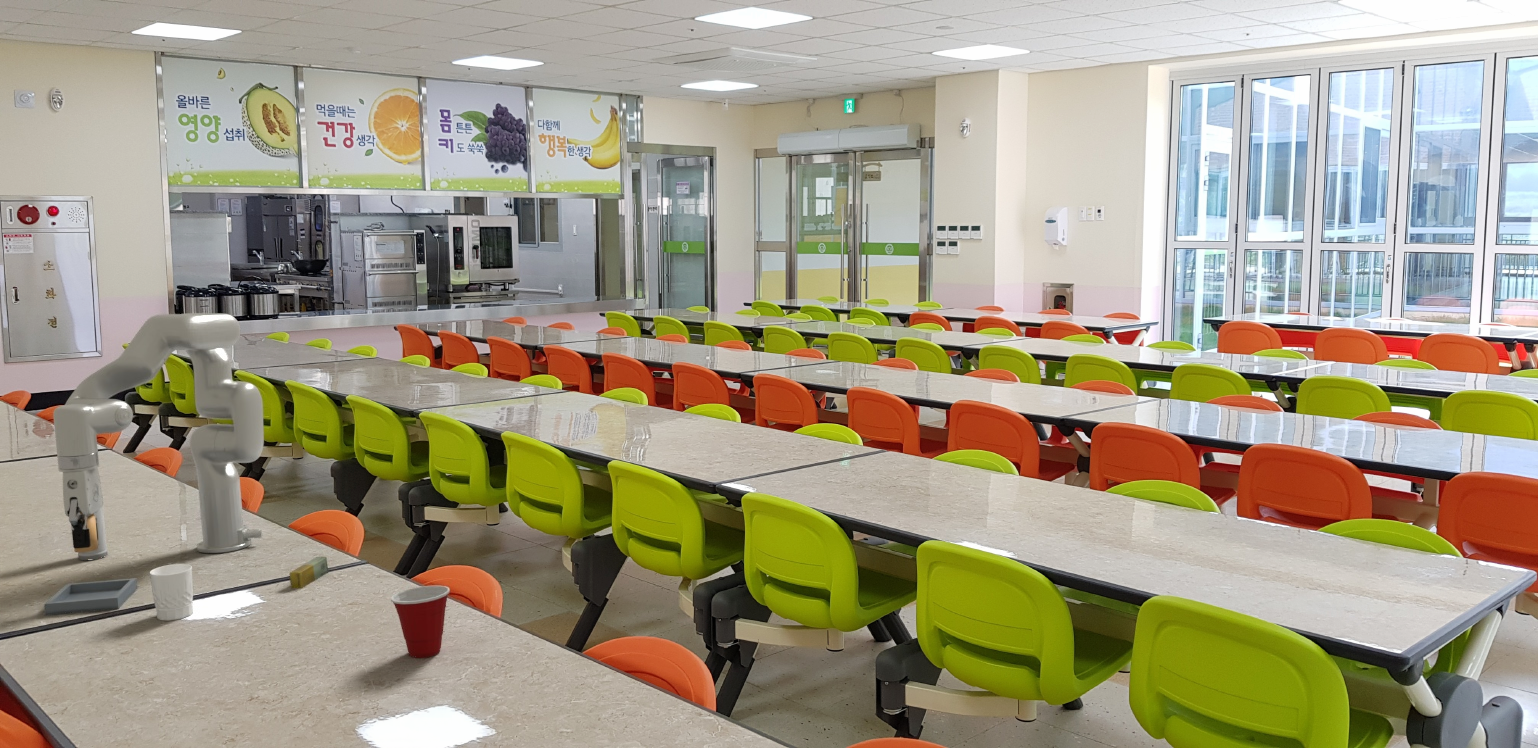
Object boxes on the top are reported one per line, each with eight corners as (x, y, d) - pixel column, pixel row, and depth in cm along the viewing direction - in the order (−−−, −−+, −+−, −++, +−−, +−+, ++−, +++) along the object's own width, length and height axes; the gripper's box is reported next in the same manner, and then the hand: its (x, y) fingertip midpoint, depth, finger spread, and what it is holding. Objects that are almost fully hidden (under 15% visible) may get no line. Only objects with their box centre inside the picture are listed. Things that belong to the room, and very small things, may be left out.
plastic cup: (432, 637, 225) (428, 578, 223) (465, 650, 218) (461, 589, 216) (382, 654, 217) (378, 593, 215) (415, 667, 210) (411, 604, 208)
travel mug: (95, 561, 280) (87, 481, 278) (72, 560, 282) (64, 481, 279) (114, 554, 286) (107, 476, 284) (92, 553, 288) (84, 475, 285)
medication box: (318, 572, 269) (316, 556, 268) (329, 572, 269) (327, 556, 268) (290, 589, 257) (288, 572, 257) (301, 589, 257) (299, 572, 256)
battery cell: (100, 546, 251) (97, 512, 250) (94, 551, 247) (91, 517, 246) (78, 547, 250) (75, 513, 249) (71, 553, 246) (68, 518, 245)
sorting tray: (137, 588, 259) (136, 578, 258) (118, 608, 245) (117, 597, 245) (68, 594, 255) (67, 583, 255) (45, 615, 242) (44, 604, 241)
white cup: (149, 623, 236) (145, 576, 234) (159, 611, 243) (154, 565, 242) (191, 619, 238) (187, 573, 236) (199, 607, 245) (195, 562, 244)
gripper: (84, 468, 239) (92, 553, 241) (110, 453, 255) (117, 533, 257) (44, 470, 237) (52, 556, 239) (72, 455, 253) (80, 536, 255)
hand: (86, 543), depth 248 cm, fingers closed on battery cell, 4 cm apart
